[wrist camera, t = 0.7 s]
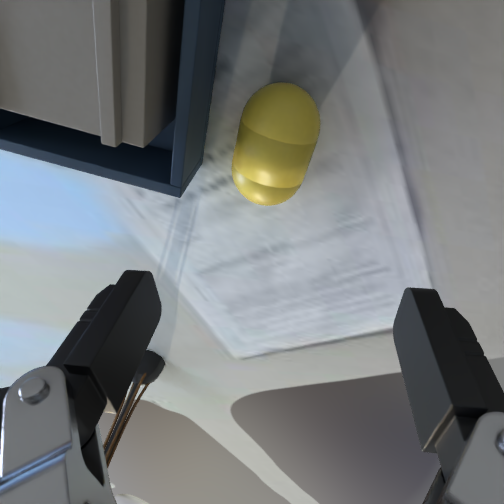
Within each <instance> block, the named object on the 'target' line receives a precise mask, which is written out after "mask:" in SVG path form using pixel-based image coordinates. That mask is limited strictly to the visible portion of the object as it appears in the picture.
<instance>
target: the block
mask: <svg viewBox="0 0 504 504" xmlns="http://www.w3.org/2000/svg"><path fill="white" fill-rule="evenodd" d="M184 3H185V0H0V108H1V109H4V110H8V111H11V112H15V113H19V114H22V115H26V116H30V117H33V118H37V119H40V120H44V121H48V122H51V123H55V124H59V125H62V126H66V127H70V128H73V129H77V130H80V131H84V132H88V133H91V134H95V135H99V136H101V143H102V144H105V145H108V146H112V147H117V146H118V145H119V144H121V143H122V142H124V143H128V144H131V145H135V146H138V147H142V148H144V147H145V146H146V145H147V144H148V143H149V142H150V141H152V140H153V139H154V138H155V137H156V136H157V135H158V134H159V133H160V132H161V131H162V130H163V129H165V128H166V127H167V126H168V125H169V124H170V123H171V122H172V121H173V120H174V119H175V117H176V104H177V91H178V79H179V66H180V54H181V41H182V28H183V16H184Z"/></svg>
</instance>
